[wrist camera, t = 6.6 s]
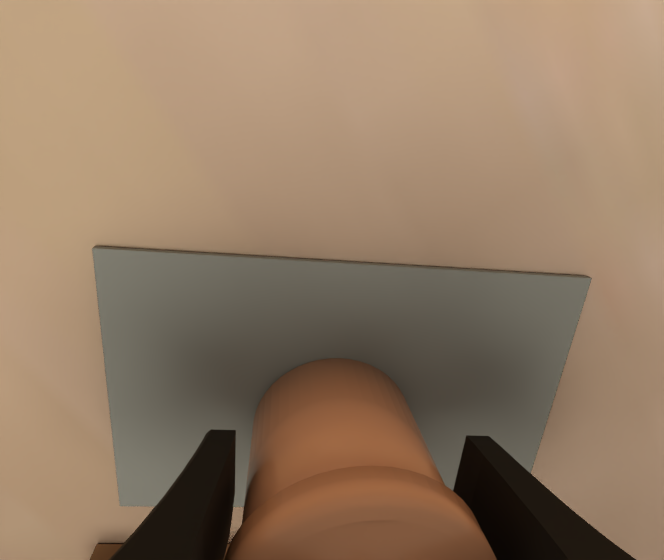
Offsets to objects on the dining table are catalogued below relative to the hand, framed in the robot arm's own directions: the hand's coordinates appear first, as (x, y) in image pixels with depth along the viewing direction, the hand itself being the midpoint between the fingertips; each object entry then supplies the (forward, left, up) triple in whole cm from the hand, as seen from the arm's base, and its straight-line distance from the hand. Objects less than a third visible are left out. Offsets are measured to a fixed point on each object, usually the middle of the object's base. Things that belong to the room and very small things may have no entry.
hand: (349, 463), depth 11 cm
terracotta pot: (0, +1, -2) cm, 3 cm away
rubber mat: (0, 0, -3) cm, 3 cm away
